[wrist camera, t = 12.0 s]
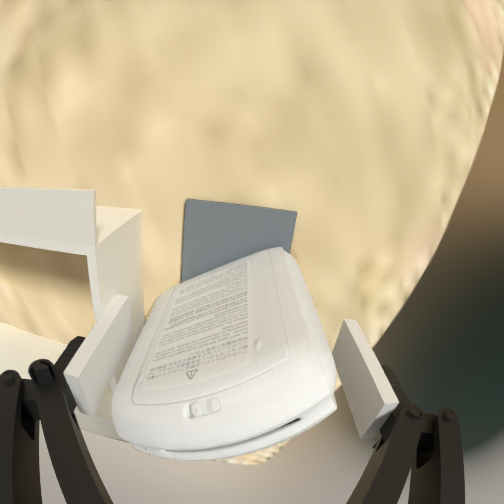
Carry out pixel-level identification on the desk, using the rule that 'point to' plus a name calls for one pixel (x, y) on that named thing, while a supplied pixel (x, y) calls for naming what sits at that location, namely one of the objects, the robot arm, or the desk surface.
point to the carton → (99, 268)
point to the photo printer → (227, 364)
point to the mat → (230, 233)
